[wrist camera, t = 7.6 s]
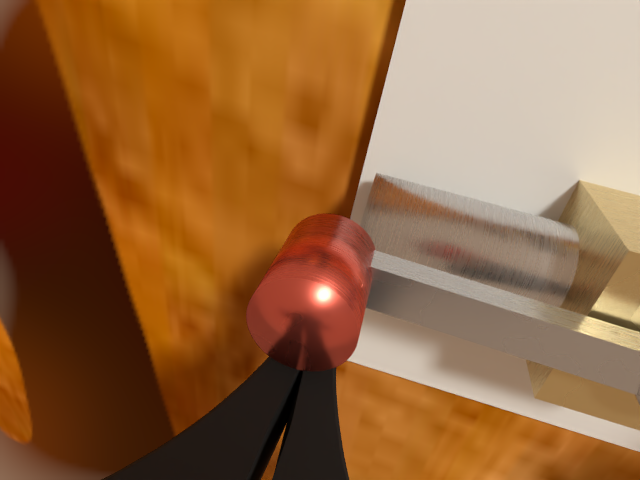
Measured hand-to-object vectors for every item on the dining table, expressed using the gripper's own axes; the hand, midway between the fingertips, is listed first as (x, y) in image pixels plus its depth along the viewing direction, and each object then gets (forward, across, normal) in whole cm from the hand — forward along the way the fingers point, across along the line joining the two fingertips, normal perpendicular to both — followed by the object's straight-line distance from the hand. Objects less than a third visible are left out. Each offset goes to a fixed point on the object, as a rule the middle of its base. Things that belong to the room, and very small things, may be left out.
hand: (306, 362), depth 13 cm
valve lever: (+1, -4, -3) cm, 5 cm away
